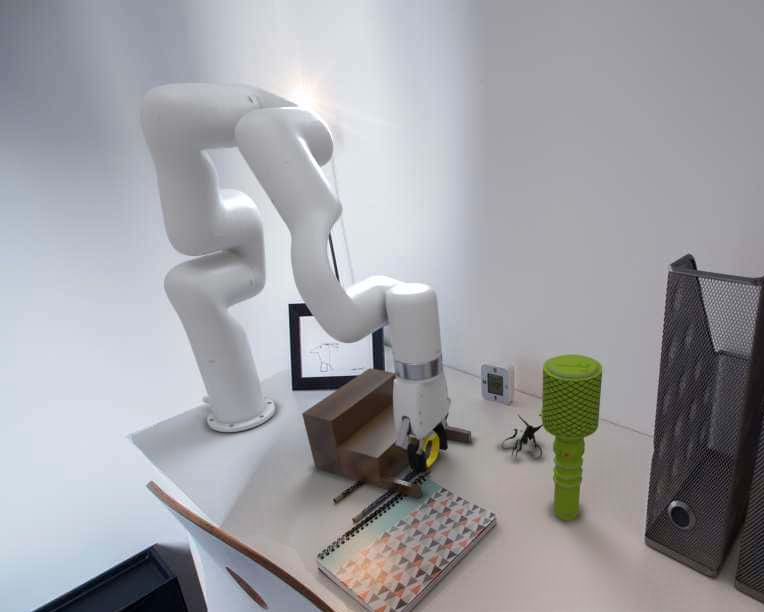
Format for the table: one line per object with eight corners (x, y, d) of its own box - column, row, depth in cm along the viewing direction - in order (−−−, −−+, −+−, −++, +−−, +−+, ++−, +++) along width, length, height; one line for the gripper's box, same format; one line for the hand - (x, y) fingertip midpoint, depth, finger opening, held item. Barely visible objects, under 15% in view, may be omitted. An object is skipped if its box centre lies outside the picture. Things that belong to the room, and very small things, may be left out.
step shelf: (315, 468, 91) (301, 413, 86) (377, 417, 105) (369, 368, 100) (419, 499, 83) (411, 441, 78) (471, 440, 97) (468, 387, 92)
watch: (429, 474, 89) (425, 444, 86) (414, 471, 90) (410, 442, 87) (444, 454, 94) (441, 425, 91) (430, 451, 94) (427, 423, 92)
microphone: (589, 496, 83) (599, 349, 70) (593, 530, 76) (606, 375, 64) (537, 495, 83) (539, 349, 71) (537, 529, 77) (539, 375, 64)
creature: (534, 470, 91) (554, 439, 96) (531, 448, 87) (552, 418, 92) (495, 457, 94) (516, 428, 99) (491, 436, 91) (513, 407, 96)
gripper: (427, 340, 91) (436, 429, 99) (364, 384, 77) (381, 482, 86) (465, 347, 88) (471, 437, 97) (408, 393, 74) (421, 494, 83)
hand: (429, 457), depth 91 cm, fingers closed on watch, 6 cm apart
